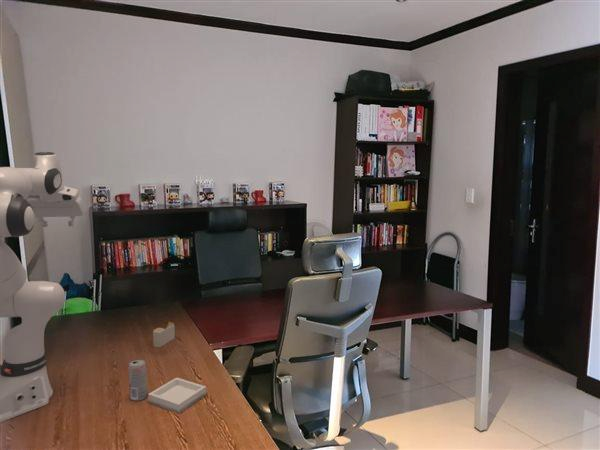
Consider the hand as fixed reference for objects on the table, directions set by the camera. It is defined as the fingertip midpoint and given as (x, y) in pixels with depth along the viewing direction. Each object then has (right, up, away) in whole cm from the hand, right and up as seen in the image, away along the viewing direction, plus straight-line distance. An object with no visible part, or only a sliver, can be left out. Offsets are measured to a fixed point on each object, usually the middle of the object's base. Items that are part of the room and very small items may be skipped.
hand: (58, 225), depth 180 cm
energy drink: (+41, -57, -28) cm, 75 cm away
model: (+36, -50, +18) cm, 65 cm away
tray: (+54, -57, -28) cm, 84 cm away
